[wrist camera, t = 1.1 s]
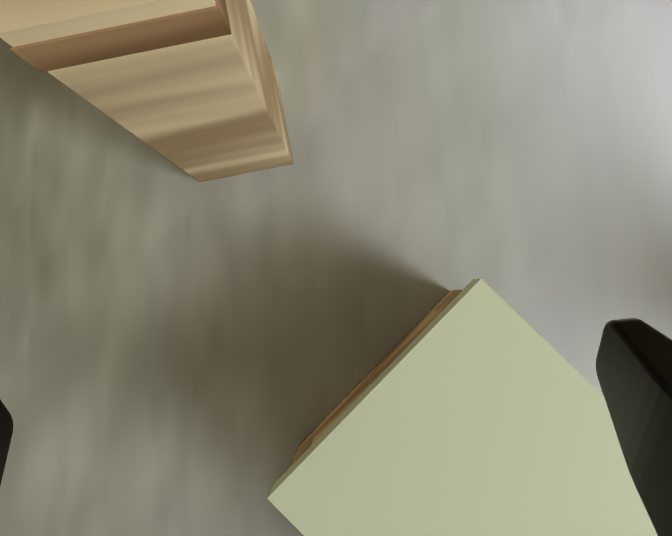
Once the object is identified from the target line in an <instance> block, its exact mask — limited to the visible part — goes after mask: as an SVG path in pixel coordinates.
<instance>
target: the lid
mask: <svg viewBox="0 0 672 536" xmlns="http://www.w3.org/2000/svg"><path fill="white" fill-rule="evenodd" d="M267 499H268V500H269V501H270V502H271V503H272V504H273V505H274V506H275V507H276V508H277V509H278V510H279V511H280V512H281V513H282V514H283V515H284V516H285V517H286V518H287V519H288V520H289V521H290V522H291V523H292V524H293V525H294V526H295V527H296V528H297V529H298V530H299V531H300V532H301V533H302V534H303V535H304V536H658V535H657V533H656V531H655V528H654V526H653V524H652V522H651V520H650V518H649V515H648V513H647V511H646V509H645V507H644V504H643V502H642V500H641V498H640V496H639V494H638V491H637V489H636V487H635V484H634V482H633V480H632V477H631V475H630V473H629V470H628V467H627V464H626V462H625V459H624V456H623V453H622V450H621V447H620V444H619V441H618V438H617V434H616V431H615V428H614V425H613V422H612V419H611V416H610V413H609V410H608V407H607V404H606V401H605V398H604V396H603V395H602V394H601V393H600V392H599V391H598V390H597V389H596V388H595V387H594V386H593V385H592V384H591V383H590V382H589V381H588V380H587V379H586V378H585V377H584V376H583V375H581V374H580V373H579V372H578V371H577V370H576V369H575V368H574V367H573V366H572V365H571V364H570V363H569V362H568V361H567V360H566V359H565V358H564V357H563V356H562V355H561V354H560V353H559V352H557V351H556V350H555V349H554V348H553V347H552V346H551V345H550V344H549V343H548V342H547V341H546V340H545V339H544V338H543V337H542V336H541V335H540V334H539V333H538V332H537V331H536V330H535V329H533V328H532V327H531V326H530V325H529V324H528V323H527V322H526V321H525V320H524V319H523V318H522V317H521V316H520V315H519V314H518V313H517V312H516V311H515V310H514V309H513V308H512V307H511V306H509V305H508V304H507V303H506V302H505V301H504V300H503V299H502V298H501V297H500V296H499V295H498V294H497V293H496V292H495V291H494V290H493V289H492V288H491V287H490V286H489V285H488V284H487V283H485V282H484V281H483V280H482V279H474V280H472V281H471V282H470V283H469V284H468V285H467V286H466V287H465V288H464V289H463V290H462V291H461V292H460V293H459V294H458V295H457V296H456V297H455V298H454V299H453V300H452V302H451V303H450V304H449V305H448V306H447V307H446V308H445V309H444V310H443V311H442V312H441V313H440V314H439V315H438V316H437V317H436V318H435V319H434V320H433V321H432V322H431V323H430V324H429V325H428V326H427V327H426V328H425V329H424V330H423V331H422V332H421V333H420V334H419V335H418V336H417V337H416V338H415V339H414V341H413V342H412V343H411V344H410V345H409V346H408V347H407V348H406V349H405V350H404V351H403V352H402V353H401V354H400V355H399V356H398V357H397V358H396V359H395V360H394V361H393V362H392V363H391V364H390V365H389V366H388V367H387V368H386V369H385V370H384V371H383V372H382V373H381V374H380V375H379V376H378V377H377V378H376V379H375V381H374V382H373V383H372V384H371V385H370V386H369V387H368V388H367V389H366V390H365V391H364V392H363V393H362V394H361V395H360V396H359V397H358V398H357V399H356V400H355V401H354V402H353V403H352V404H351V405H350V406H349V407H348V408H347V409H346V410H345V411H344V412H343V413H342V414H341V415H340V416H339V417H338V418H337V419H336V421H335V422H334V423H333V424H332V425H331V426H330V427H329V428H328V429H327V430H326V431H325V432H324V433H323V434H322V435H321V436H320V437H319V438H318V439H317V440H316V441H315V442H314V443H313V444H312V445H311V446H310V447H309V448H308V449H307V450H306V451H305V452H304V453H303V454H302V455H301V456H300V457H299V458H298V459H297V461H296V462H295V463H294V464H293V465H292V466H291V467H290V468H289V469H288V470H287V471H286V472H285V473H284V474H283V475H282V476H281V477H280V478H279V479H278V480H277V481H276V482H275V483H274V484H273V486H272V488H271V491H270V493H269V495H268V497H267Z"/></svg>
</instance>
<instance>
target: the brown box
mask: <svg viewBox="0 0 672 536" xmlns="http://www.w3.org/2000/svg"><path fill="white" fill-rule="evenodd" d="M0 38H1V39H3V40H4V41H5V42H7V43H8V44H10V49H11V51H12V52H14V53H15V54H17V55H18V56H19V57H21V58H22V59H24V60H25V61H26V62H28V63H29V64H31V65H32V66H33V67H35V68H36V69H38V70H39V71H41V72H46V71H47V72H48V73H50V74H51V75H52V76H54V77H55V78H57V79H58V80H59V81H61V82H62V83H64V84H65V85H66V86H68V87H69V88H70V89H72V90H73V91H75V92H76V93H77V94H79V95H80V96H81V97H83V98H84V99H86V100H87V101H88V102H90V103H91V104H93V105H94V106H95V107H97V108H98V109H99V110H101V111H102V112H104V113H105V114H106V115H108V116H109V117H111V118H112V119H113V120H115V121H116V122H117V123H119V124H120V125H122V126H123V127H124V128H126V129H127V130H129V131H130V132H131V133H133V134H134V135H135V136H137V137H138V138H140V139H141V140H142V141H144V142H145V143H147V144H148V145H149V146H151V147H152V148H153V149H155V150H156V151H158V152H159V153H160V154H162V155H163V156H165V157H166V158H167V159H169V160H170V161H171V162H173V163H174V164H176V165H177V166H178V167H180V168H181V169H183V170H184V171H185V172H187V173H188V174H189V175H191V176H192V177H194V178H195V179H196V180H198V181H199V182H201V181H207V180H212V179H217V178H222V177H227V176H232V175H237V174H243V173H248V172H253V171H258V170H263V169H268V168H273V167H279V166H284V165H289V164H293V161H292V155H291V150H290V144H289V139H288V134H287V128H286V123H285V117H284V112H283V107H282V101H281V96H280V90H279V85H278V80H277V74H276V70H275V67H274V65H273V62H272V59H271V56H270V54H269V51H268V48H267V45H266V43H265V40H264V37H263V34H262V32H261V29H260V26H259V23H258V21H257V18H256V15H255V12H254V10H253V7H252V4H251V1H250V0H0Z"/></svg>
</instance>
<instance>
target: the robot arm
mask: <svg viewBox="0 0 672 536" xmlns="http://www.w3.org/2000/svg"><path fill="white" fill-rule="evenodd" d="M596 372H597V376H598V380H599V383H600V386H601V389H602V392H603V395H604V398H605V401H606V404H607V407H608V410H609V413H610V416H611V419H612V422H613V425H614V428H615V431H616V434H617V438H618V441H619V444H620V447H621V450H622V453H623V456H624V459H625V462H626V464H627V467H628V470H629V473H630V475H631V477H632V480H633V482H634V484H635V487H636V489H637V491H638V494H639V496H640V498H641V500H642V502H643V504H644V507H645V509H646V511H647V513H648V515H649V518H650V520H651V522H652V524H653V526H654V528H655V531H656V533H657V535H658V536H672V340H671V339H670V338H668V337H667V336H665V335H664V334H662V333H660V332H659V331H657V330H656V329H654V328H653V327H651V326H650V325H648V324H647V323H645V322H644V321H642V320H640V319H636V318H630V319H619V320H611V321H609V322H607V324H606V325H605V327H604V330H603V334H602V338H601V342H600V346H599V350H598V354H597V358H596ZM12 433H13V420H12V417H11V415H10V413H9V411H8V410H7V408H6V407H5V406H4V404H3V403H2V401H1V400H0V485H1V481H2V476H3V472H4V468H5V463H6V459H7V455H8V450H9V446H10V442H11V437H12Z"/></svg>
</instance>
